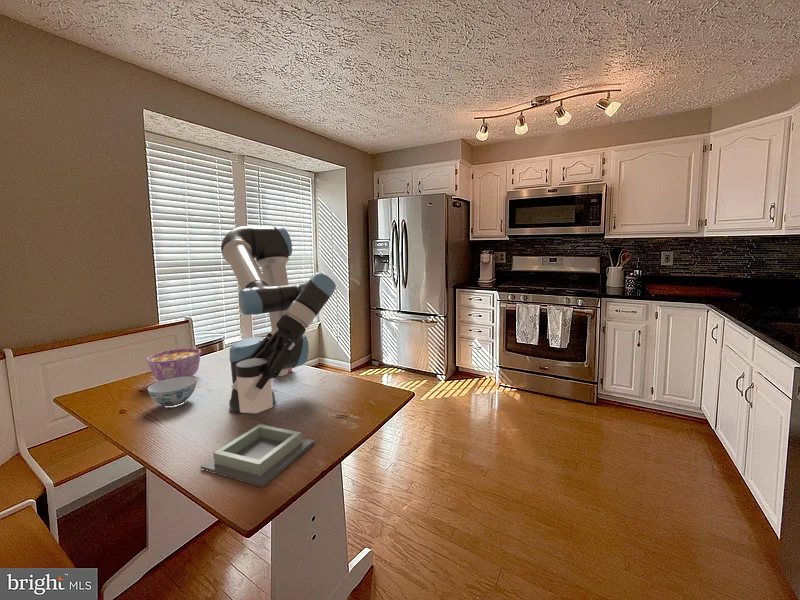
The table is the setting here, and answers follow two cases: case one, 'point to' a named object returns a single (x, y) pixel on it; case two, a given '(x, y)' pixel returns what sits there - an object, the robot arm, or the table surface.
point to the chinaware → (172, 390)
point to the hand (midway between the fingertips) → (241, 394)
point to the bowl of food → (174, 363)
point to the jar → (245, 378)
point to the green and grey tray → (258, 454)
